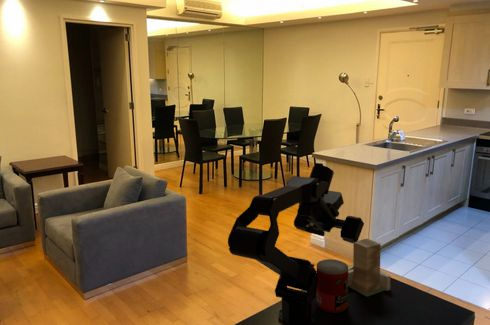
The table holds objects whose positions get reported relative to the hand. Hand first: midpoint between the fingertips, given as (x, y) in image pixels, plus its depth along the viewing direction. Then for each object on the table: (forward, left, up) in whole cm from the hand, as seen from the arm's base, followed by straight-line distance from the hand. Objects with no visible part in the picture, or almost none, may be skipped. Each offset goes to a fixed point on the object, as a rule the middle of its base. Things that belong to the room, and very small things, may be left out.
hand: (338, 238), depth 113 cm
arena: (+3, -6, -14) cm, 15 cm away
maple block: (+5, -6, -13) cm, 15 cm away
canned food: (-9, -8, -14) cm, 19 cm away
